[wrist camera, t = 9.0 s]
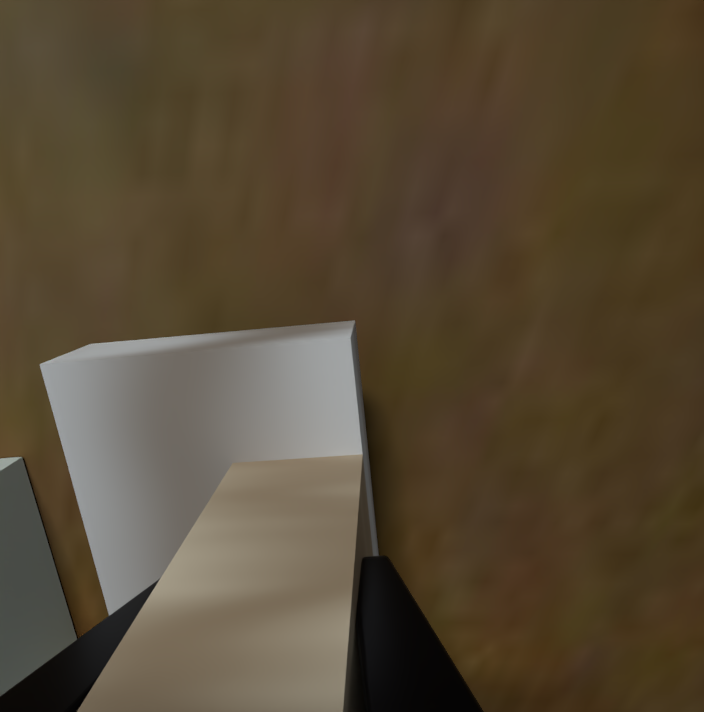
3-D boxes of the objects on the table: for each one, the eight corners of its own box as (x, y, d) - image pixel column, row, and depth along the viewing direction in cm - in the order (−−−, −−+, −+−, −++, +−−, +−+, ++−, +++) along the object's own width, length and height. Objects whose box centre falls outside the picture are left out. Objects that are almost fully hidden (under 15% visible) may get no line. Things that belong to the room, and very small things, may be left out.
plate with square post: (354, 320, 10) (229, 787, 2) (383, 601, 12) (391, 1511, 3) (90, 344, 10) (-1048, 799, 2) (155, 610, 12) (-325, 1430, 4)
